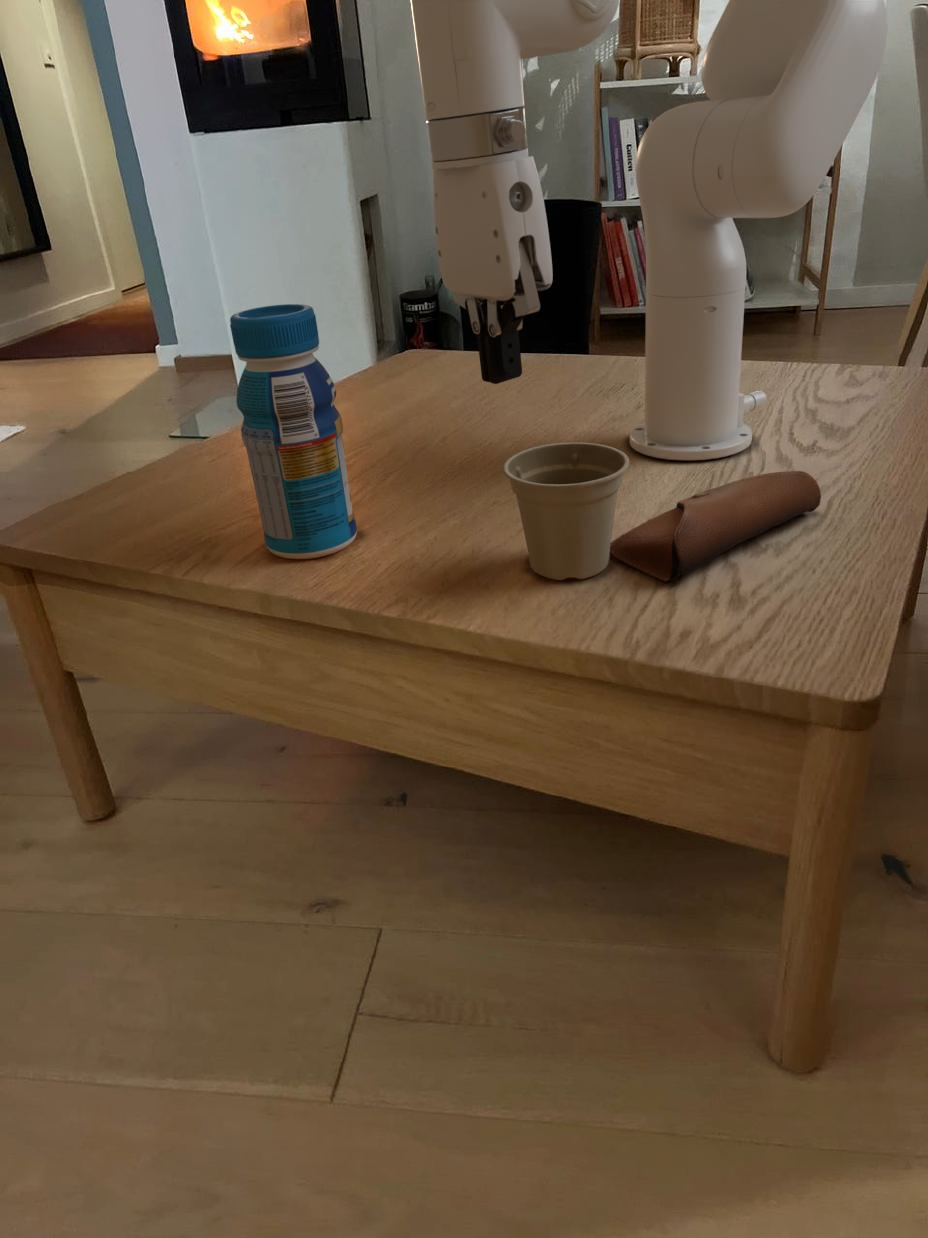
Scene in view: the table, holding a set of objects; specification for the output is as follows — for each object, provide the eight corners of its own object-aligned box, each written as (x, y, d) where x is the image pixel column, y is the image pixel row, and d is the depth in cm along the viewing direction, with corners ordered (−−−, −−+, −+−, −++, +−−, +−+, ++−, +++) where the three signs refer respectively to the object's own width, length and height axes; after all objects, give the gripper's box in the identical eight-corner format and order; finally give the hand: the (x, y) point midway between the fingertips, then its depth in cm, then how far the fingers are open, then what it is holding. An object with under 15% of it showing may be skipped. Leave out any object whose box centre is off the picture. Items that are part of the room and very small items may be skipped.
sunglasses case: (737, 487, 82) (774, 433, 77) (791, 541, 80) (834, 489, 74) (597, 550, 73) (629, 493, 68) (654, 613, 70) (691, 559, 65)
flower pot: (609, 598, 67) (608, 488, 63) (492, 584, 71) (484, 479, 66) (642, 547, 74) (643, 445, 70) (534, 536, 78) (529, 439, 74)
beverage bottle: (247, 558, 79) (195, 322, 70) (295, 521, 86) (255, 302, 76) (331, 566, 76) (290, 320, 67) (375, 527, 83) (343, 299, 73)
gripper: (579, 129, 65) (592, 381, 74) (463, 138, 76) (487, 356, 86) (496, 144, 62) (521, 405, 71) (387, 151, 73) (420, 376, 82)
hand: (502, 378), depth 78 cm, fingers closed
